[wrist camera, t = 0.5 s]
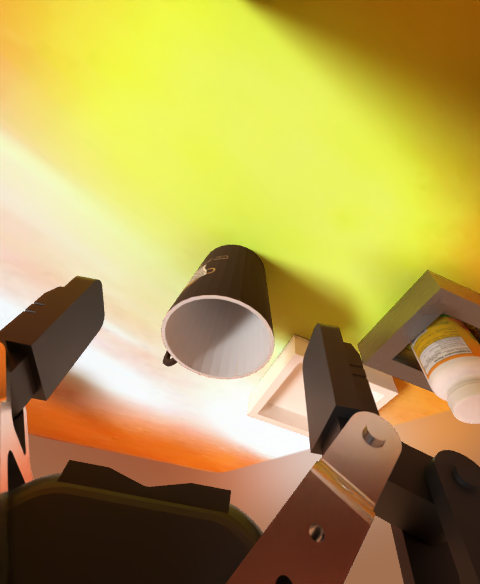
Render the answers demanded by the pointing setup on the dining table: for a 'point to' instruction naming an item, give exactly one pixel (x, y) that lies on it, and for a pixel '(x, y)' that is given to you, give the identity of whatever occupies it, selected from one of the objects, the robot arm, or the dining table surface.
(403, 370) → the socket collar
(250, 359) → the coffee mug
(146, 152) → the dining table surface
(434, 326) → the supplement bottle
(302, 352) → the tray
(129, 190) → the dining table surface
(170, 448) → the dining table surface
